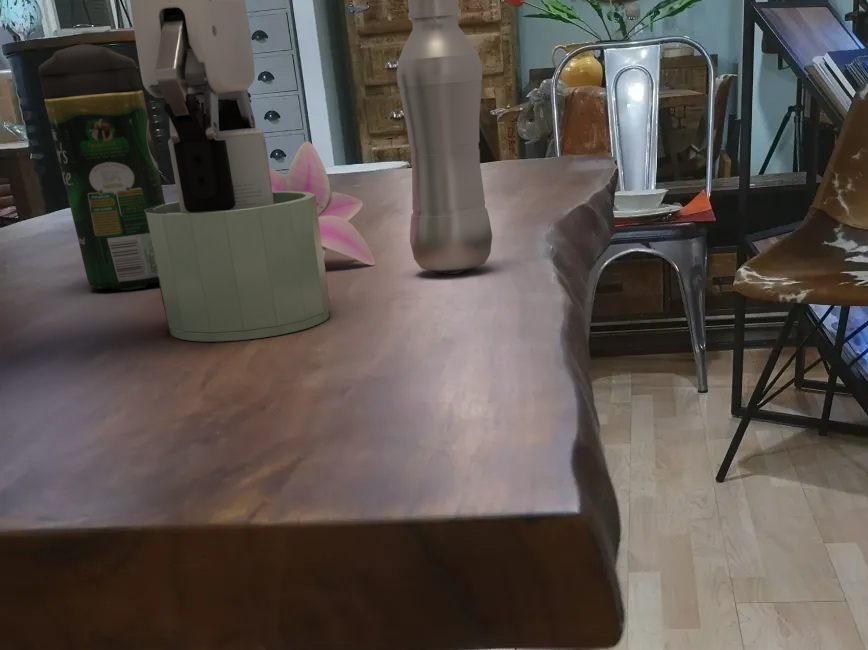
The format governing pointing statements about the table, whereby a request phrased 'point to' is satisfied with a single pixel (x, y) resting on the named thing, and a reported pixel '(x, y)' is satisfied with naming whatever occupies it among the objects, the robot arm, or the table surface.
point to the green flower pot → (240, 269)
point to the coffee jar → (105, 161)
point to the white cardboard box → (241, 168)
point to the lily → (325, 204)
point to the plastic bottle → (444, 140)
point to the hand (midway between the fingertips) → (227, 200)
